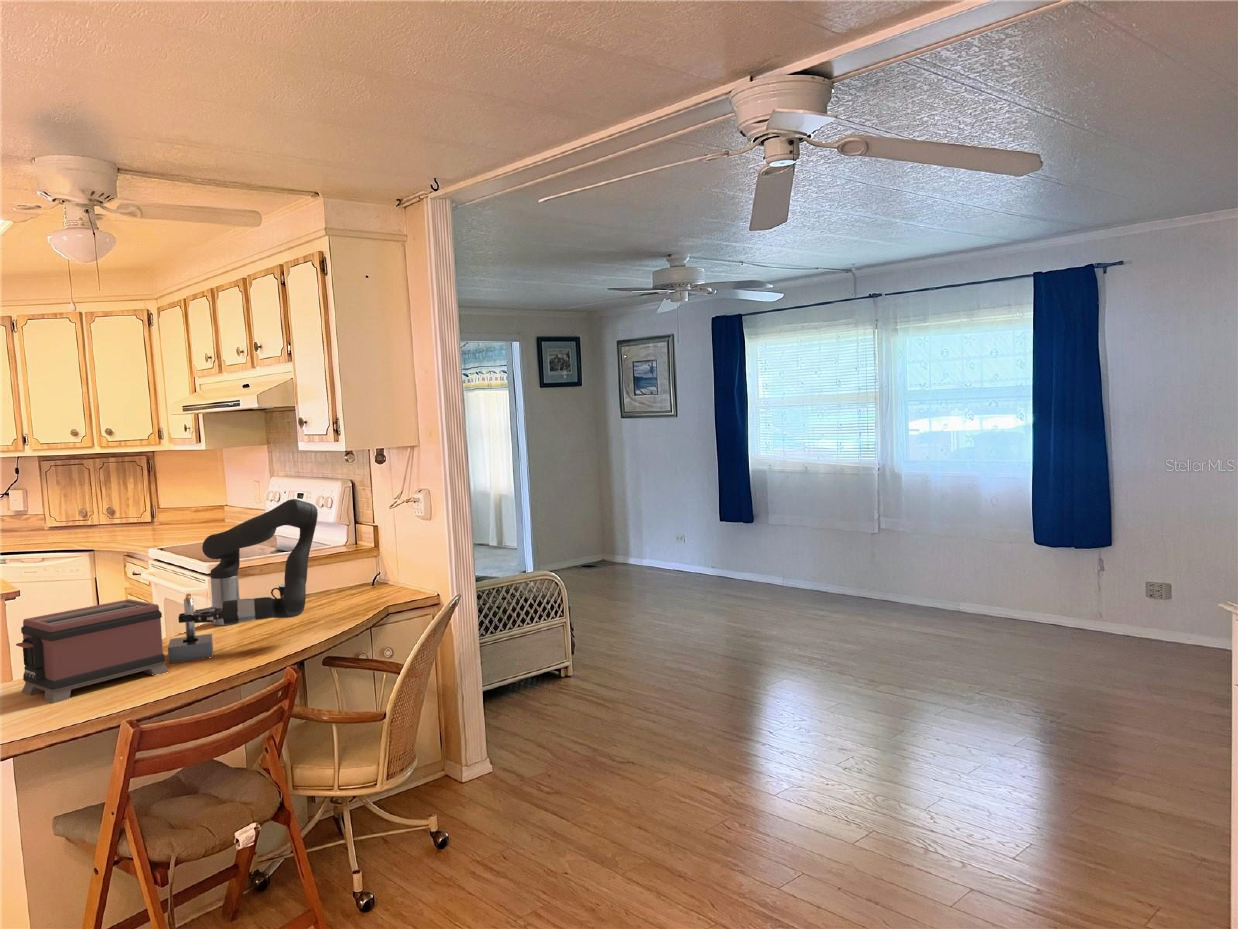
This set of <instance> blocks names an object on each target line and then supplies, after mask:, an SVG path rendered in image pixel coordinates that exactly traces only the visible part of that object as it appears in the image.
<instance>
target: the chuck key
mask: <svg viewBox="0 0 1238 929" xmlns="http://www.w3.org/2000/svg"><path fill="white" fill-rule="evenodd" d="M183 608H184V613H185V615H189V614H194V611H195V606H194V598H193V597H192V595H191V593H190V592H189V593H186V595H185V598H184V599H183ZM184 623H185V625H184V626H185V637H186V640H187V642H195V641H196V636H197V635H196V626H195V625H196V623H194V622H184Z"/></svg>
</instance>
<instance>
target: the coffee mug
mask: <svg viewBox="0 0 1238 929" xmlns="http://www.w3.org/2000/svg"><path fill="white" fill-rule="evenodd" d="M284 588H285V583H281V584H278V587H274V588H272V589H271V591H270V595H271V596H272V598H273V599H276V598H277V597H276V596H275V594H274V591H275V590H277V591H278V592H279V596H280V597H279V598H283V595H284Z"/></svg>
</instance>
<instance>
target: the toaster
mask: <svg viewBox="0 0 1238 929" xmlns="http://www.w3.org/2000/svg"><path fill="white" fill-rule="evenodd" d="M162 614H163V613H162V611H160V606H159V604H157V603H151V602H147V601H141V600H135V599H131V598H129V599H124V600H123V599H121V600H118V601H112V602H107V603H101V604H97V605H92V606H91V605H90V606H86V607H81V608H76V609H70V610H65V611H61V612H60V611H59V612H54V613H49V614H43V615H39V616H38V615H37V616H34V617H27V618H24V619H23V621H22V624H23V625H22V626H21V628H20V631H21V634H22V639H23V640H22V642H18V643H15V646H17V647H20V648H22V654H23V655H22V656H23V665H24V666H23V667H24V671H23V676H22V680H23V681H24V683H25V684H23V688H22V690H21V693H22V694H25V695H28V696H31V695H36V694H39V693H44V697H43V701H44V702H47V703H50V704H57V703H60V702H65V701H66V700H67V699H68V700H70V699H69V698H70V697H71V692H72V690H75V689H79V688H82V687H83V688H84V687H85V686H86V687H87V686H90V685H93V684H98V683H101V682H106V681H109V680H114V679H117V678H121V677H124V676H128V675H133V674H136V673H139V672H144V673H145V674H146V673H148V674H147V675H150V674H153V675H157V674H161V675H164V674H163V673H165V674H167V673H166V672H168V673H170V671H169V670H168V668H167V667H166V665H165V663H166V662H167V658H166V655H165V654H164V650H163V649H164V648H163V635H162V633H163V632H162V622H161V621H162V620H161V618H162V617H163V615H162ZM153 675H152V676H153ZM157 676H158V675H157ZM43 691H44V692H43ZM68 700H67V701H68Z"/></svg>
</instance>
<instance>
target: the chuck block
mask: <svg viewBox="0 0 1238 929" xmlns="http://www.w3.org/2000/svg"><path fill="white" fill-rule="evenodd" d="M213 651H214V642H213V633H207V634H200V635H196V641H195V642H187V640H186V636H184V637H175V638H170V640H169V643H168V646H167V653H168V654H167V656H168V664H169V665H170V664H177V662H179V663H183V662H182V661H186V662H191V661H192V660H194V661H199V660H198V659H201V660H203V659H202V658H209V657H212V658H213V655H212V654H213ZM209 659H210V658H209ZM192 662H193V661H192Z"/></svg>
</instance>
